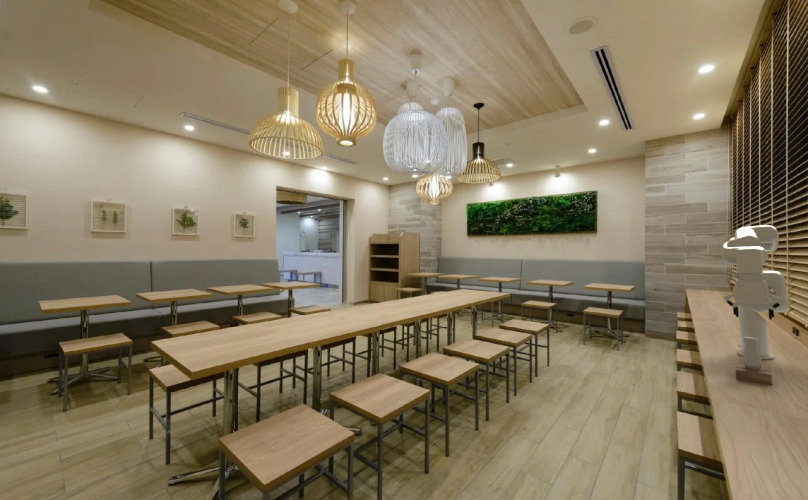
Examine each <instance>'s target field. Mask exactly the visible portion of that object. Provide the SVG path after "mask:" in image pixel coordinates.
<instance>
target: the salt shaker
mask: <svg viewBox="0 0 808 500" xmlns="http://www.w3.org/2000/svg"><path fill="white" fill-rule="evenodd" d="M743 341H744V342H745V349H744V355H743V356H742V361H741V362H742V364H744V366H745V367H746V368H747V369H751V370H760V368H761V367H763V361H762V359H761V358H760V355H759V352H758V349H757V346H756V344H758V339H757V338H754V337H744V338H743Z"/></svg>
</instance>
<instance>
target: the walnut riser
mask: <svg viewBox="0 0 808 500" xmlns="http://www.w3.org/2000/svg"><path fill="white" fill-rule="evenodd" d="M772 376H773V375H772V372H771V369H770V367H766V366H762V367H761V368H760V370H751V369H747V368H746V367H745V366H744V364H743V363H735V377H736V378H735V379H736V380H737V381H745V382H750V383H757V384H762V385H770V386H773V378H772Z"/></svg>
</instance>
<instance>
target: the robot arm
mask: <svg viewBox="0 0 808 500" xmlns="http://www.w3.org/2000/svg"><path fill="white" fill-rule="evenodd" d="M779 237H780V235H779V231H778V230H777V228H776V227H775V226H772V225H769V224H768V225H753V226H742V227H741V228H738V229H736V230H735V232H734V233H733V237H731V238H730V239H729V240H727V241H726V242H725V243H723V245H722V246H721V251H720V252H721V253H720V255H721V256H720V258H721V260H722V262H723V263H725V264H727V265H736V273H733V274H732V278H736V280H735V281H734V292H733V293H731V294H728V295H725V296H723V299H724V301H725V302H726V303H727V304H728V305H729V306H731V307H732V308H733V309H732V310H733V315H734V316H735V317H736V318H738V322H739V323H738V324H739V334H740V336H739V337H740V344H739V343H738V344H737V346H736V347H738V348H740V349H739V350H737V354H738V355H740V356H742V357H743V355H744V349H745V342H744V341H743V338H744V337H754V338H757V339H758V344H756V346H757V349H758V352H759V355H760V358H761V360H772V359H775V354H773V353H770V345H769V344H770V343H769V332H768V330H769V329H768V322H767V319H766V317H764V316H763V315H761V313H762V312H763V313H764V312H766V313H768V319H769V320H773V318H775V313H785V312H787V311H788V308H789V304H788V303H789V302H788V301H789V300H788V294H787V293H788V292H787V285H786V281H785V279H786V278H785V276H784V275H783V273H781V272H780V271H777V270H764V268H763V267H764V266H763V264H764V263H765V262H766V261H767V260H768V258H769V253H771V252H775V251H777V249H778V248H779V239H780V238H779ZM730 298H731V299H733V298H734V301H735V302H732V301H731V299H730ZM760 312H761V313H760Z"/></svg>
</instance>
